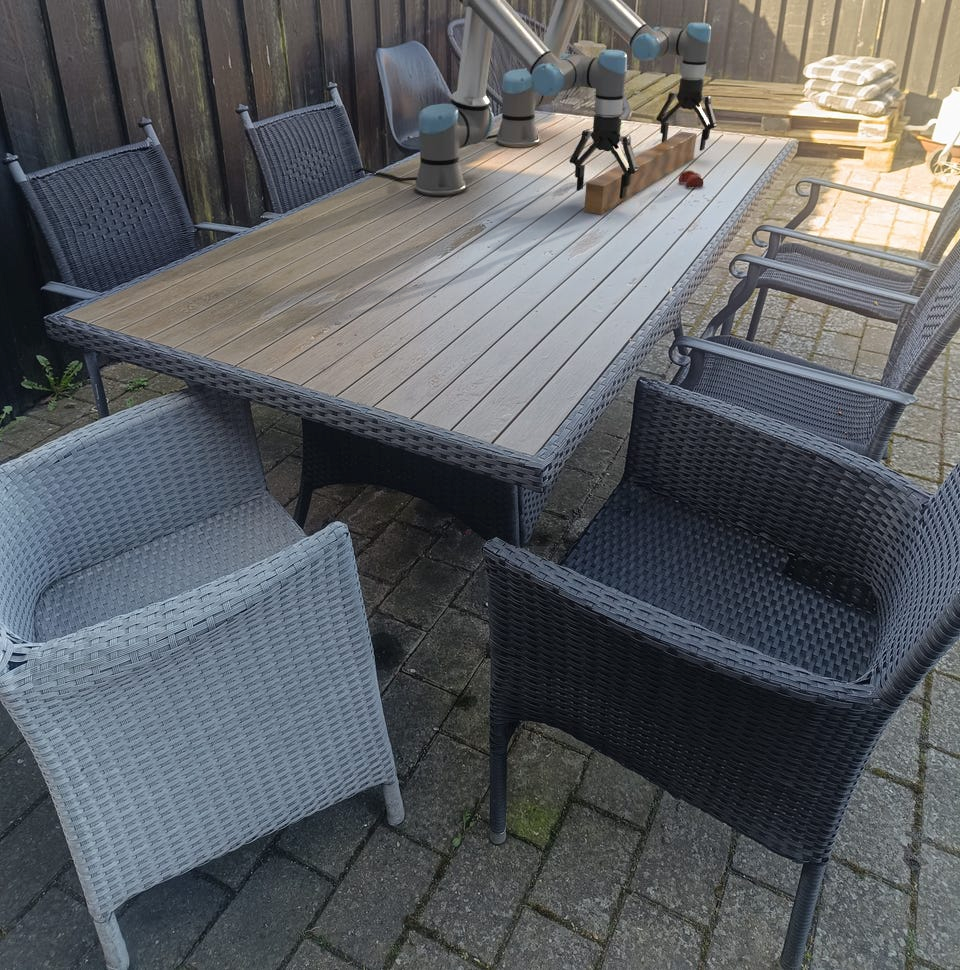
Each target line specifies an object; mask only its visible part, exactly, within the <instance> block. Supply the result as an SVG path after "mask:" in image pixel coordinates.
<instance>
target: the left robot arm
mask: <svg viewBox="0 0 960 970" xmlns="http://www.w3.org/2000/svg"><path fill="white" fill-rule="evenodd" d="M458 1H459V2H460V3H461V4H462V5H463V7H465V17H464V26H463V34H462V42H461V43H462V44H461V53H460V61H459V72H458V80H457V87H456V91H454V92H453V93H452V94H451V97H450V103H438V104H431V105H428V106H426V107H424V108H423V109H422V110H420V112H419V114H418V126H417V127H418V137H419V138H418V139H419V157H420V158H419V159H420V161H419V162H420V164H419V168H418V172H417V176H409V177H407V176H406V177H400V176H396V175H393V174H389V173H385V172H379V171H376V170H372V169H370V168H367V167H358V168H357V169H356V170H355V172H354V173H355V174H359V173H360V172H366V173H369V174H372V175H374V176H380V177H385V178H390V179H393V180H396V181H399V182H409V181H415V185H414V186H415V192H417V193H418V194H420V195H424V196H430V197H450V196H455V195H459V194H461V193H463V192H464V191H466V181H465V179H464V176H463V172H462V169H461V165H460V149H463V148H465V147H468V146H472V145H477V144H479V143H480V142H482V141H485V140H484V139H486V138H487V137H488V136H491V133H492V131H493V129H494V124H495V116H494V115H495V114H494V113H493V112H492V110H493V109H492V107H491V106H490V101H491V100H490V99H489V97H488V96H487V87H488V86H487V85H488V78H489V71H490V64H491V57H492V56H491V55H492V48H493V41H494V35H495V36H496V37H497V39H498V40H499V41H500V43H502V44H503V45H504V47H506V49H507V50H508V51H509V52H510V54H512V56H514V58H515V59H516V60H517V61H518V62H519V63H520V64H521V65H522V67H523V69H526V70H527V71H528V72H529V73H530V74H531V75H532V76H531V82H532V85H533V88H534V90H535V91H536V92H537V93H538V94H540V95H543V96H547V95H555V94H557V93H559V92H561V93H562V92H566V91H569V90H572V89H576V88H589V89H595V99H594V100H595V101H594V113H595V114H594V115H593V124H592V131H591V130H590V128H587V129H584V130H582V131H581V137H580V140H579V142H578V144H577V145H576V147H575V149H574V151H573V153H572V155H571V156H570V158H569V163H570V164H573V165H574V166H575V167H574V168H575V169H574V178H576V179H577V180H576V191H577V192H579V191H581V190H583V189H584V180H585V168H586V165H584V163H585V162H586V160H588V158H590V156H591V155H592V154H593V153H594V152H595V151H596V150H597V151H604V152H610V153H611V154H612V155H613V156H614V158H615V159H616V161H617V163H618V166H619V165H620V167H621V168H622V170H623V172H624V174H623V175H622V178H621V187H620V197H619V199H623V198H624V197H626V190H627V187H628V186H629V185H630V181H631V174H634V173H636V172H638V166H637V163H636V160H635V157H636V156H635V154H634V150H633V147H632V143H631V142H632V138H631V137H632V136H631V135H629V134H628V135H626V136H624V135H621V128H622V120H623V119H622V118H623V116H622V113H623V107H624V96H625V95H624V94H625V87H626V86H625V85H626V77H627V72H628V68H627V67H628V55H627V52H625V51H624V50H619V49H603V50H601V51H599V53H598V57H597V56H596V57H595V56H590V55H589V56H588V55H582V54H577V53H565V54H564V55H562V56H561V58H560V59H559V60H558V59H557V58H556V57H555V56H554V54H553V53H552V52H551V51H550V50H549V49H548V48H547V47H546V46H545V45H544V43H543V41H542V40H541V39H540V37H538V35H537V34H536V33H535V32H534V31H533V30H532V28H531V27H530V26H529V25H528V24H527V23H526V22H525V21H524V19H523V18H522V17H521V16H520V15H519V14H518V13H517V11H516V10H515V9H514V8H513V7H512V6H511V4H510V3H508V1H507V0H458ZM590 138H591V140H592V141H593V142H592V144H591V145H590V146H589V148H587V149H586V150H585V151H584V153H582V152H583V150H584V148H585V147H586V145H587V143H588V141H589V140H590ZM486 140H487V139H486ZM619 143H621V145H622V148H623V151H624V154H623V152H622V149H621V146H620V144H619ZM581 154H582V155H581ZM627 161H628V162H627ZM376 172H378V173H376ZM374 173H376V174H374Z"/></svg>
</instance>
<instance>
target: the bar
mask: <svg viewBox="0 0 960 970" xmlns="http://www.w3.org/2000/svg"><path fill="white" fill-rule="evenodd" d="M697 135H698V133H695V132H687V131H681V132H679V133H677V134H675V135H673V136H671V137H669V138H667V140H665V141H663V142H662V141H661V142H662V143H661V142H660V143H657V144H656V145H654V146H653V147H651V148H648V149H646V150H645V151H643V152H641V153H639V154H637V155H636V156H635V160H636V163H637V166H638V172H636V173H634V174H631V181H630V185H629V186H628V187H627V190H626V197H624V198H623V199H619V197H620V187H621V178H622V175H623V174H624V172H623V170H622V168H621V167H620V165H619V164H618V166H615V167H613V168H612V169H609V170H608V171H606V172H604V173H602V174H600V175H599V176H596V177H595V178H593V179H591V180H589V181H588V182H586V183H585V194H584V208H583V209H584V210H583V211H584V212H585V213H590V214H596V215H603V214H605V213H606V212H608V211H610V210H612V209H613V208H615V207H616V206H617V205H619V204H621V203H623V202H624V201H627V200H628V199H629V198H631V197H633V196H634V195H636V194H638V193H639V192H641V191H642V190H644V189H645V188H647V187H649V186H651V185H653V184H654V183H656V182H657V181H659V180H661V179H662V178H663V177H665V176H667V175H668V174H670V173H672V172H673V171H675V170H677V169H679V168H680V167H682V166H683V165H685V164H687V163H688V162H690V161H691V160H693V159H694V157H695V151H696V150H695V149H696V144H697V143H696V142H697ZM627 162H628V161H627Z"/></svg>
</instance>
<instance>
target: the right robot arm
mask: <svg viewBox="0 0 960 970" xmlns="http://www.w3.org/2000/svg"><path fill="white" fill-rule="evenodd" d="M584 3H585V4H586V5H587V6H588V7H589V8H590V9H591V10H592V11H594V13H595V14H596V15H598V17H600V18H601V20H603V21H604V22H605V24H607V25H608V26H609V27H610V28H611V29H612V30H613V31H614V32H615V33H616V34H618V35H619V36H620V38H622V39H623V40H624V41H625V42H626V43H627V44H628V45H629V46H630V47H631V52H632V55H633V57H634V58H635V59H636V60H638V61H639V62H649V61H652V60H654V59H657V58H660V57H665V56H668V55H669V56H678V57H682V63H681V64H682V65H681V71H680V76H681V77H680V79H679V86H678V92H675V90H672V91H669V92H668V96H667V100H666V101H665V103H663V104H664V105H663V106H662V108H661V110H660V111H659V112H658V115H657V116H656V119H655V120H656V121H658V122H660V131H659V132H660V134H661V142H660V143H662V142H663V141H665V140H667V139H668V133H669V126H670V123H669V122H668V121H669V120H670V119H671V118H672V117H673V116H674V115H675V114H676V113H677V112H678V111H679V109H681V108H682V110H689V111H692V110H693V111H694V112H695V113H696V115H697V117H698V118H699V120H700V122H701V124H702V127H704V128H703V129H702V130H701V138H700V142H699V143H700V144H699V151H700V152H701V151H704V150H705V148H706V142H707V141H708V140H709V139H710V134H711V130H712V129H715V128H716V127H718V124H717V121H716V117H715V113H714V109H713V105H712V96H711V95H707V96H703V91H704V90H703V89H704V82H705V79H704V78H705V75H706V68H707V61H708V55H709V50H710V49H709V48H710V43H711V35H712V27H711V25H710V24H709V23H707V22H690V23H688V24H687V26H686V28H685V29H684V28H683V29H682V28H675V27H668V26H655V27H653V28H652V27H650V25H648V24H647V22H645V21H644V20H643V19H642V18H641V17H640V16H639V15H638V14H637V13H636V12H635V11H634V10H633V9H631V7H630V6H629V5H628V4H626V2H624V1H623V0H556V2H555V4H554V7H553V10H552V13H551V17H550V20H549V23H548V26H547V29H546V32H545V35H544V39H543V41H542V42H543V43H544V45H545V46H546V47H547V48H548V49H549V50H550V51H551V52H552V53H553V54H554V56H555V57H556V58H557V59H558V60H559V59H560V58H561V56H562V55H564V54H566V51H567V48H568V46H569V43H570V41H571V38H572V35H573V32H574V29H575V26H576V23H577V21H578V18H579V16H580V12H581V10H582V8H583V7H582V6H583V4H584ZM531 76H532V75H531V74H530V73H529V72H528V71H527V70H526V69H525V68H518V69H512V70H509V71H507V72H506V73H504V75H503V77H502V84H501V89H502V91H501V92H502V93H501V94H502V96H501V102H502V103H501V122H500V124H499V128H498V132H497V134H490V135H489V136H488V137H487V138H486V139H484V140H483V141H486V140H490V139H495V138H496V144H498V145H499V146H503V147H508V148H530V147H535V146H537V145H539V143H540V133H539V132H538V128H537V124H536V119H535V117H536V108H537V107H538V108H539V107H541V106H544V105H545V106H546V105H549V104H550V103H552V102H554V101H556V99H558V98H559V96H560V95H561V93H562V92H559V93H557V94H555V95H547V96H543V95H540V94H538V93H537V92H536V91H535V90H534V88H533V85H532V82H531ZM676 99H677V103H676V104H675V105H674V107H673V108H672V109H670V111H669V112H668V113H667V111H668V110H669V108H670V106H671V104H672V103H673V101H674V100H676ZM701 102H702V103H703V104H704V109H705V112H706V114H705V112H704V110H703V107H702V105H701ZM666 113H667V114H666ZM665 114H666V115H665Z"/></svg>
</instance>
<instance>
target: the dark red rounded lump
mask: <svg viewBox="0 0 960 970" xmlns="http://www.w3.org/2000/svg"><path fill="white" fill-rule="evenodd" d="M682 183H685V188H686V189H689V188H691V189H692V188H700V187H701V188H702V187H703V186H704V179H703V178H702V175H701V174H700V173H698V172H695V171H694V170H690V169H689V170H684V171H682V172H681V173H680V174H679V177H678V184H682Z"/></svg>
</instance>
